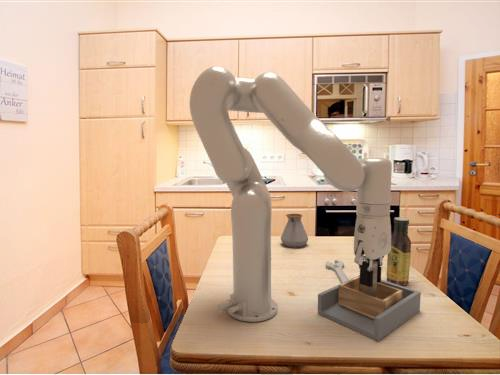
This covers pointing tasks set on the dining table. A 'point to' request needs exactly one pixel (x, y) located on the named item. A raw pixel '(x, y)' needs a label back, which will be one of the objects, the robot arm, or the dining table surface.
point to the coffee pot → (294, 232)
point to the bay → (363, 323)
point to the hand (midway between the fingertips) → (370, 282)
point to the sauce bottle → (399, 253)
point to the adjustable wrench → (337, 270)
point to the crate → (368, 295)
